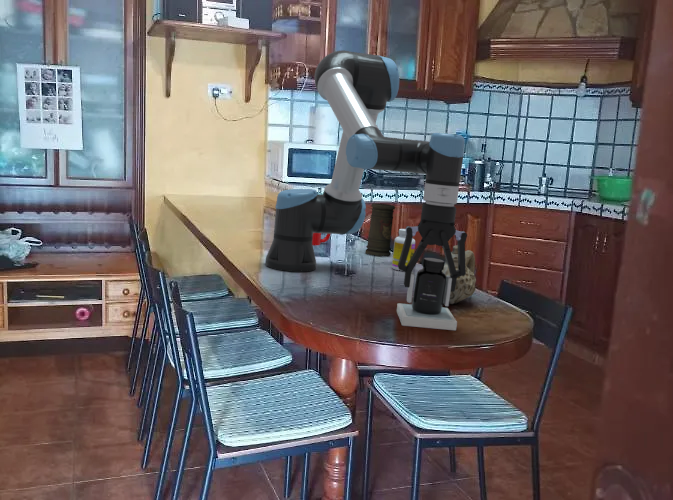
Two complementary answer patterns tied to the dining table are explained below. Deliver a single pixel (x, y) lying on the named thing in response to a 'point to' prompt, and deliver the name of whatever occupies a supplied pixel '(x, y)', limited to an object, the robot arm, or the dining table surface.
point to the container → (380, 230)
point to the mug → (319, 238)
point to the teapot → (462, 277)
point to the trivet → (426, 318)
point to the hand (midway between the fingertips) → (427, 302)
